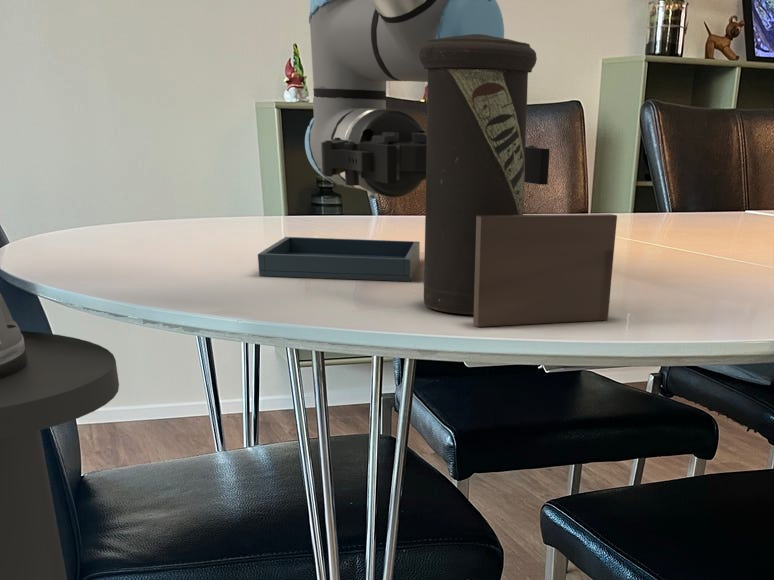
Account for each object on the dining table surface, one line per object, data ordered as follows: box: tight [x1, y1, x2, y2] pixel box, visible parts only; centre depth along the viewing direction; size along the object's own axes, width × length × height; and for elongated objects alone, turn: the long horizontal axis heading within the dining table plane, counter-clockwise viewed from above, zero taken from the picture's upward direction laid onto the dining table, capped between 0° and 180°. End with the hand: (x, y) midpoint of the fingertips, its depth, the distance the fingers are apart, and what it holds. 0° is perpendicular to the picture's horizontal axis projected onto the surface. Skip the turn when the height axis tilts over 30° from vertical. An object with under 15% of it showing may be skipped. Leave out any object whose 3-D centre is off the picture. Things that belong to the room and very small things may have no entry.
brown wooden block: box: [472, 213, 618, 328], centre depth 84 cm, size 15×12×8 cm
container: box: [419, 34, 538, 316], centre depth 80 cm, size 9×9×20 cm
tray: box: [257, 236, 421, 282], centre depth 103 cm, size 15×15×2 cm
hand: (471, 165), depth 81 cm, fingers open, 13 cm apart
